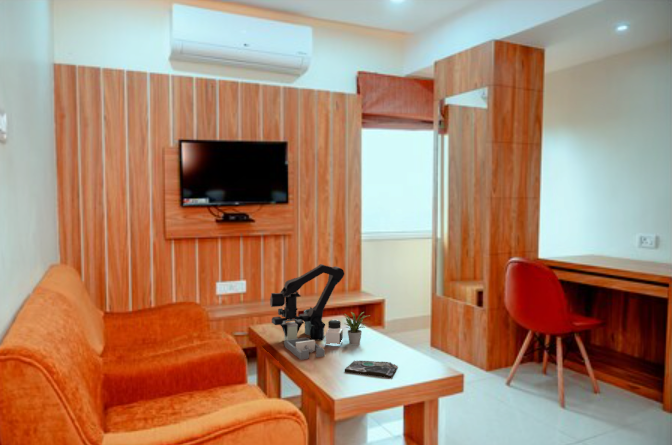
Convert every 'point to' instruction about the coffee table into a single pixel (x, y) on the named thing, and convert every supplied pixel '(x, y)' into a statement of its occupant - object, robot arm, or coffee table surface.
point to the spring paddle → (306, 345)
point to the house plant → (354, 329)
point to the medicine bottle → (334, 332)
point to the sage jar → (291, 331)
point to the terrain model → (372, 368)
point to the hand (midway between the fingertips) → (290, 335)
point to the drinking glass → (307, 324)
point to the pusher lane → (305, 353)
